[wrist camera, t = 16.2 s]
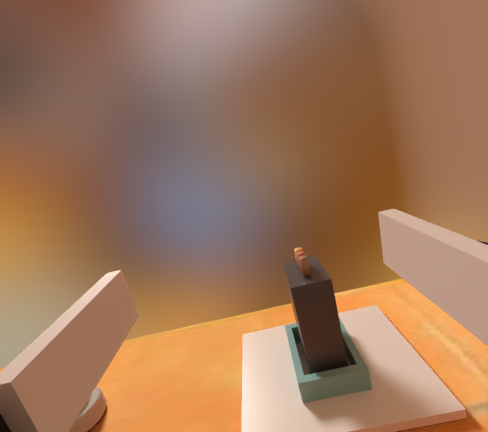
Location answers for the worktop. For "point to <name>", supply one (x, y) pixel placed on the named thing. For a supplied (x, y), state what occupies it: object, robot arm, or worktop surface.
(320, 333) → the block
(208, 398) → the worktop surface
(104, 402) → the electronic device
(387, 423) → the header board
